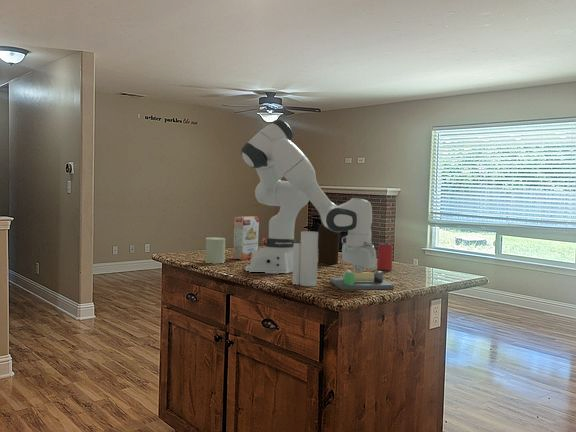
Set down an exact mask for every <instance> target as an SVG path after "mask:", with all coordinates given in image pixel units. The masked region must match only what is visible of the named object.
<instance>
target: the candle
mask: <svg viewBox="0 0 576 432" xmlns="http://www.w3.org/2000/svg"><path fill="white" fill-rule="evenodd" d="M291 281H292V282H291V283H292V285H294V284H296V285H295V286H303V287H315V286H317V285H318V284H317V283H318V231H314V230H313V231H308V230H307V231H306V230H305V231H304V230H303V231H300V243H298V242H297V243H296V242H295V243H294V244H293V272H292V279H291ZM299 284H300V285H299Z"/></svg>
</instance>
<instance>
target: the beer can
mask: <svg viewBox="0 0 576 432" xmlns="http://www.w3.org/2000/svg"><path fill="white" fill-rule="evenodd" d="M393 251H394V249H393V244H392V243H391V242H380V243H378V247H377V266H376V268H377V271H382V270H383V272H388V271H392V270H393Z"/></svg>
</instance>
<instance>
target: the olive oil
mask: <svg viewBox="0 0 576 432" xmlns="http://www.w3.org/2000/svg"><path fill="white" fill-rule="evenodd" d="M317 232H318V257H317V264H320V265H331V266H332V265H337V264H339V262H338V261H339V250H340V238H341V232H334V231H332V230H329V229H327V228H325V227H324V226H323V224H322V223H321V224H320V225H319V227H318V229H317Z"/></svg>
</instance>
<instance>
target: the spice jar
mask: <svg viewBox="0 0 576 432" xmlns="http://www.w3.org/2000/svg"><path fill="white" fill-rule="evenodd" d="M350 273H352V274H354V281H374V282H383V280H384V271H382V270H374V271H373V272H367V271H366V272H365V271H364V272H363V271H362V272H355V271H351V272H350Z"/></svg>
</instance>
